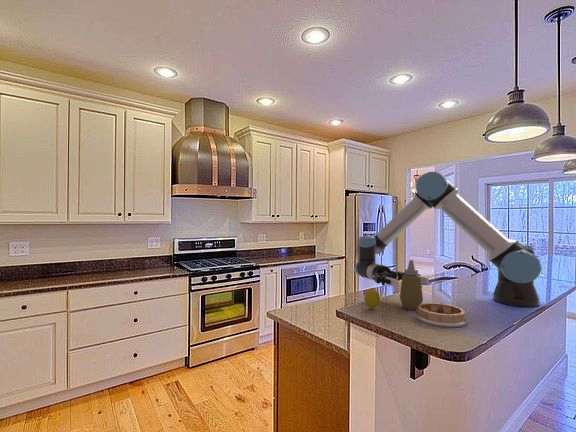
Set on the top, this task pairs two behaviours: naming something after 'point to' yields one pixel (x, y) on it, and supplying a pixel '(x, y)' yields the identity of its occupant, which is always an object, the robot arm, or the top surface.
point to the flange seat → (441, 315)
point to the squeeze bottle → (411, 288)
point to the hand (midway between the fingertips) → (412, 282)
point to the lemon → (372, 298)
